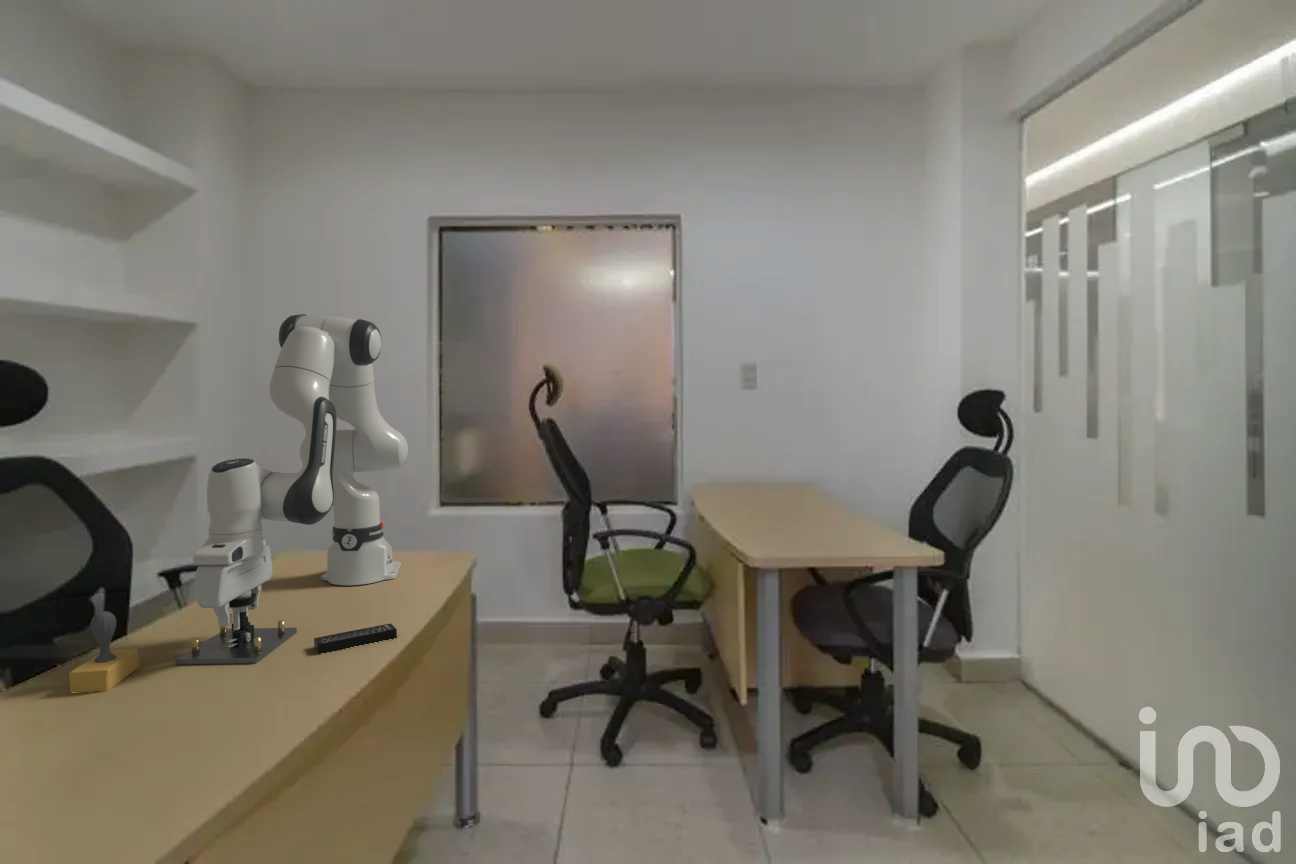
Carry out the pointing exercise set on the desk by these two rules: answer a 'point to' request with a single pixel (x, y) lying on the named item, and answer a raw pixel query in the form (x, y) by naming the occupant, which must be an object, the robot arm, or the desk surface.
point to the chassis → (236, 647)
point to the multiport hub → (354, 638)
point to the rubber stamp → (104, 660)
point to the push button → (241, 619)
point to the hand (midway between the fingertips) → (239, 616)
